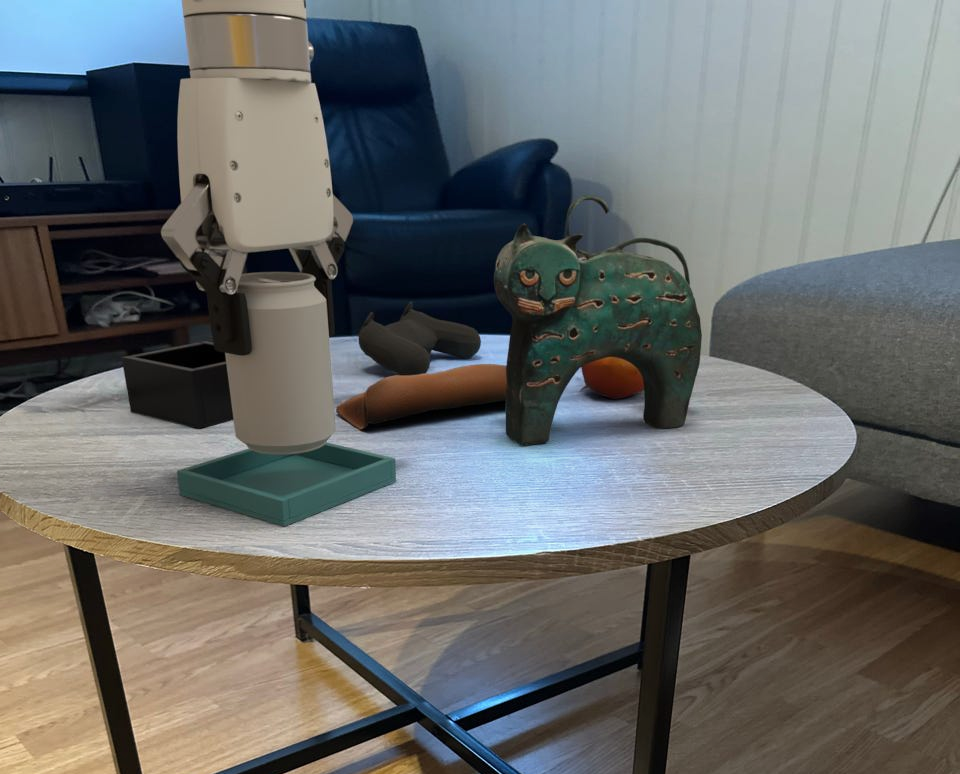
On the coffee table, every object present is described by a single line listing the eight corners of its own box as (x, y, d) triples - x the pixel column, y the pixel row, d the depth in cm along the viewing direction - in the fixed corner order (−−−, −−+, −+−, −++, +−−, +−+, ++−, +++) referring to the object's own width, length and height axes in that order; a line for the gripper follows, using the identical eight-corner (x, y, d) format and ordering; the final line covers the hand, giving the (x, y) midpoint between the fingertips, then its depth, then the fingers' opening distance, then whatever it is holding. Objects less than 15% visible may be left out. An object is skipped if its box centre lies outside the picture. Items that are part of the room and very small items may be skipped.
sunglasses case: (483, 386, 100) (501, 336, 95) (514, 432, 98) (534, 383, 92) (328, 408, 92) (339, 354, 87) (357, 459, 89) (370, 407, 84)
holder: (199, 429, 87) (191, 371, 85) (130, 412, 92) (121, 357, 90) (279, 406, 94) (274, 352, 92) (211, 392, 100) (205, 341, 97)
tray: (284, 526, 65) (281, 500, 64) (179, 494, 71) (175, 470, 70) (396, 481, 74) (395, 458, 73) (295, 456, 80) (293, 434, 79)
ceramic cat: (507, 452, 81) (513, 197, 72) (480, 432, 86) (481, 193, 77) (701, 429, 88) (729, 194, 78) (664, 413, 93) (687, 190, 84)
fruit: (602, 366, 105) (635, 307, 99) (644, 414, 103) (680, 356, 97) (550, 376, 101) (581, 314, 95) (593, 426, 98) (627, 367, 92)
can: (356, 438, 72) (346, 272, 66) (292, 464, 66) (274, 285, 61) (282, 424, 75) (265, 265, 70) (215, 448, 70) (191, 277, 64)
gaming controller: (469, 374, 119) (410, 326, 120) (491, 336, 115) (429, 287, 116) (403, 403, 106) (337, 349, 107) (425, 361, 102) (356, 305, 103)
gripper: (304, 66, 67) (323, 321, 76) (92, 48, 55) (142, 357, 63) (384, 62, 63) (394, 331, 72) (176, 42, 51) (217, 372, 59)
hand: (276, 342), depth 67 cm, fingers closed on can, 7 cm apart
